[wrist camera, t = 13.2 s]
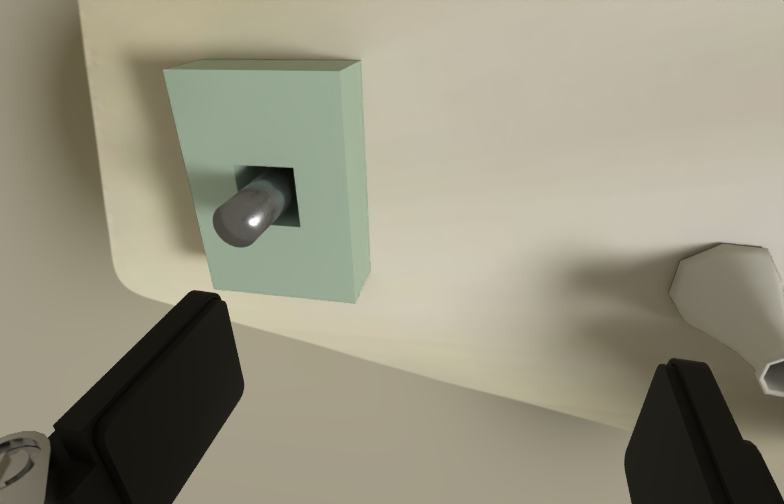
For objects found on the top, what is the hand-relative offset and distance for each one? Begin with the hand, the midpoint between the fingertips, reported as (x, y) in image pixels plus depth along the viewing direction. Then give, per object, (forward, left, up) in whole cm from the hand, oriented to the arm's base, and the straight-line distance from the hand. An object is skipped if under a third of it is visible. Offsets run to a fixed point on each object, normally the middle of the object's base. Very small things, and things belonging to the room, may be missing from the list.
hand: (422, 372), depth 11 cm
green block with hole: (+5, -14, -27) cm, 31 cm away
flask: (+12, +19, -27) cm, 35 cm away
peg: (+5, -14, -27) cm, 31 cm away
